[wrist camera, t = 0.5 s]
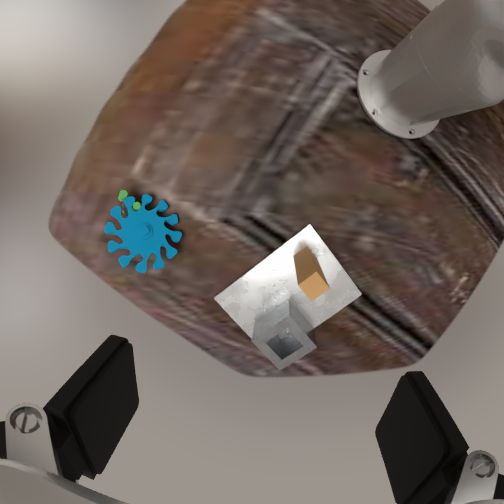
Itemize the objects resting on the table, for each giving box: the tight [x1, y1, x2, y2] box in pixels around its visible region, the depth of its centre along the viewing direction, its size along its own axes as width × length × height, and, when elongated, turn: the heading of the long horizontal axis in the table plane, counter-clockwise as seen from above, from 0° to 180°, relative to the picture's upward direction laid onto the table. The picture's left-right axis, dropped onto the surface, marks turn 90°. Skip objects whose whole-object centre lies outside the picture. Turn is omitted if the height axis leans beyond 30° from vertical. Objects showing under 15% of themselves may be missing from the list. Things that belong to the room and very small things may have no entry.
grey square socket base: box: [214, 224, 362, 370], centre depth 37 cm, size 16×12×6 cm
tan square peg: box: [293, 246, 330, 302], centre depth 33 cm, size 2×2×10 cm
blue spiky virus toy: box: [104, 190, 182, 273], centre depth 37 cm, size 11×6×10 cm
